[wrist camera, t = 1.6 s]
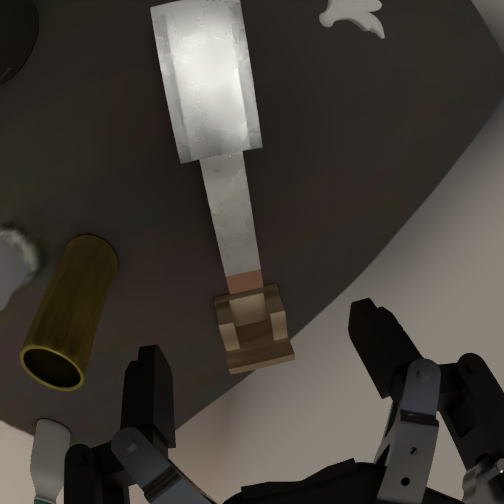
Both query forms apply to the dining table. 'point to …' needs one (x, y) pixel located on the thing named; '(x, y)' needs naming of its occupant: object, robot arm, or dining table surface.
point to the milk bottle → (49, 460)
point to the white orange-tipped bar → (233, 220)
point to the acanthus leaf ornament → (353, 14)
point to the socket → (253, 329)
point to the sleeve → (207, 77)
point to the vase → (69, 314)
